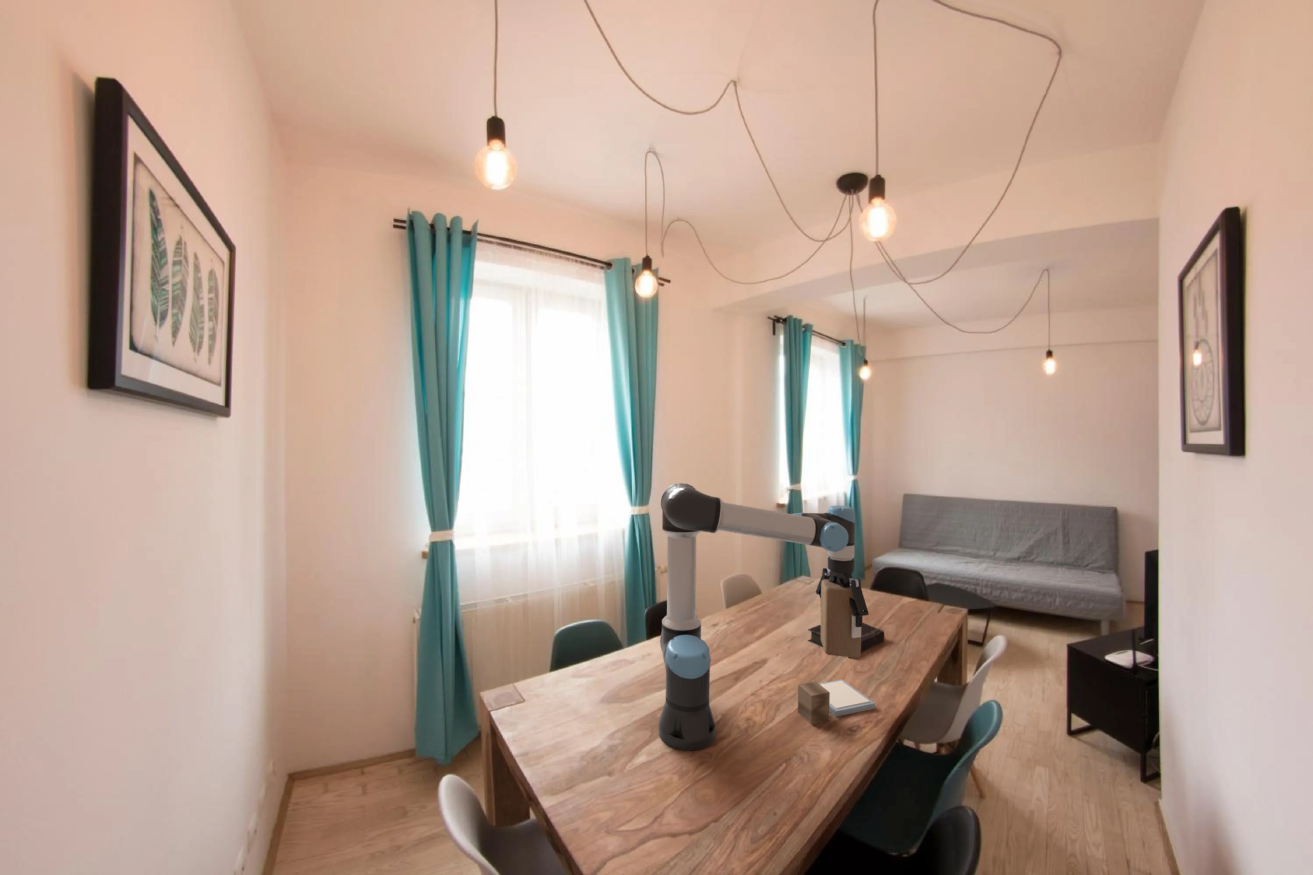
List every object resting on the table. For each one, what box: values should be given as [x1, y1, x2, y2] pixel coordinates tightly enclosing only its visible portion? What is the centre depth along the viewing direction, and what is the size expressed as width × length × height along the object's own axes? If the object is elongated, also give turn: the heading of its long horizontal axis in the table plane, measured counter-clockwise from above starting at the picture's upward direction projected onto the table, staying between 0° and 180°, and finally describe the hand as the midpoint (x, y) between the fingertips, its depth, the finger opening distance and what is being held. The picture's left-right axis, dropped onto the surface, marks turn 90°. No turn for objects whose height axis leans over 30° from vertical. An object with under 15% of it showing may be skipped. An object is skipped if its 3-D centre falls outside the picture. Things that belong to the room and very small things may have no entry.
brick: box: [797, 681, 830, 726], centre depth 131 cm, size 6×6×8 cm
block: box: [820, 579, 862, 659], centre depth 140 cm, size 10×10×20 cm
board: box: [818, 678, 876, 718], centre depth 140 cm, size 14×14×2 cm
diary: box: [807, 622, 885, 659], centre depth 181 cm, size 19×25×5 cm
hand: (840, 627), depth 140 cm, fingers closed on block, 13 cm apart
